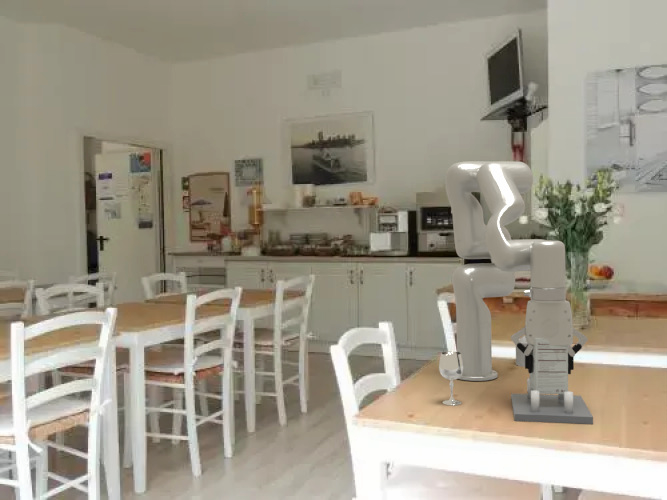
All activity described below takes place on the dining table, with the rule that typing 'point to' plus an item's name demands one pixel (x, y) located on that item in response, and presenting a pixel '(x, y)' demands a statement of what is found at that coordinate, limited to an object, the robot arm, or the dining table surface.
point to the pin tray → (550, 407)
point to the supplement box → (549, 368)
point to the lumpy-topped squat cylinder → (521, 353)
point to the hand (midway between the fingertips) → (549, 372)
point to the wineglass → (451, 371)
